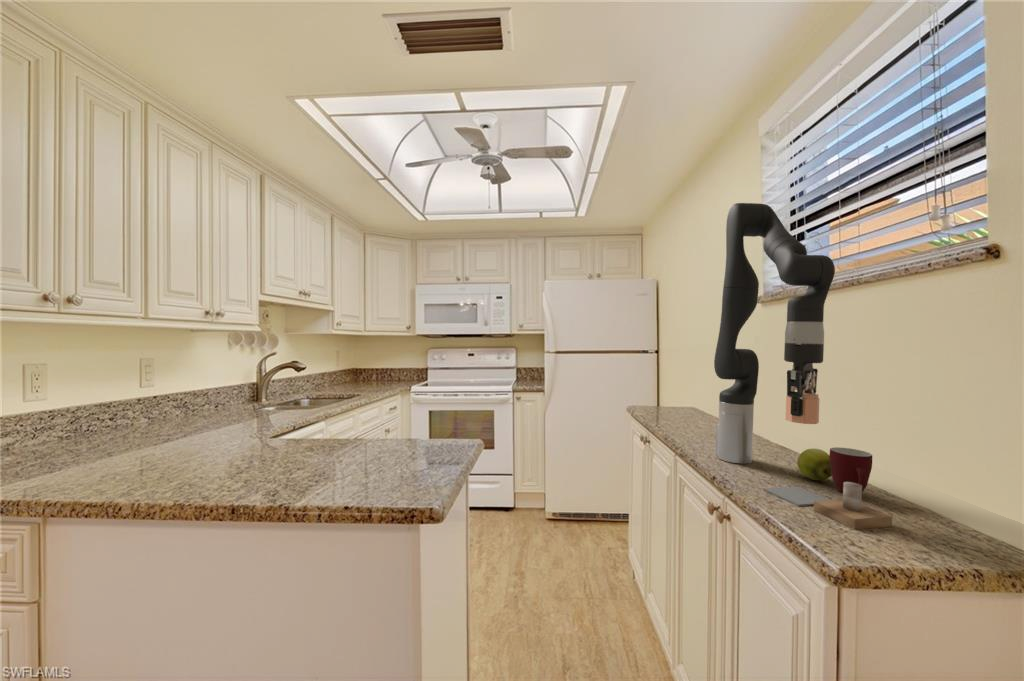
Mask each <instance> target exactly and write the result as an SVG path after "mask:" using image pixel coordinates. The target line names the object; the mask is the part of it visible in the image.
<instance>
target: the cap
mask: <svg viewBox="0 0 1024 681" xmlns="http://www.w3.org/2000/svg"><path fill="white" fill-rule="evenodd" d="M785 398H786V399H785V421H787V422H791V423H794V424H795V423H797V424H802V425H817V424H819V421H820V420H819V419H820V398H819V394H818V393H815V394H813V393H804V398H803V415H802V416H793V415H791V398H790V397H789V396H787V395H786V397H785Z"/></svg>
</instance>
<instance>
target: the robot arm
mask: <svg viewBox="0 0 1024 681" xmlns="http://www.w3.org/2000/svg"><path fill="white" fill-rule="evenodd" d="M725 226H726V228H725V229H726V230H725V232H726V233H725V234H726V239H725V240H726V241H725V242H726V243H725V244H726V245H725V246H726V248H725V249H726V254H725V255H726V257H725V271H724V280H723V286H722V298H721V299H722V300H721V301H722V302H721V315H720V324H719V325H720V326H719V332H718V336H717V337H718V338H717V343H716V348H715V353H714V361H713V363H714V365H713V366H714V372H715V375H716V376H717V378H719V379H721V380H730V381H731V380H734V382H733V384H732V385H731V386H729V387H728V388H726V389H724V390H721V391H720V392H719V396H718V397H719V398H718V399H719V401H718V403H719V404H718V424H716V427H715V428H716V430H715V433H716V434H715V456H716V457H717V458H718V459H719V460H721V461H725V462H727V463H728V462H729V463H733V464H741V465H742V464H743V465H744V464H751V463H752V462H753V440H754V439H753V438H754V437H753V436H754V407H755V406H754V405H755V404H754V403H755V397H756V395H757V391H758V381H759V368H760V367H759V366H760V365H759V362H760V361H759V358H758V355H757V353H756V352H755V351H754V350H752V349H749V348H736V347H737V341H738V337H739V334H740V333H741V330H742V328H743V327H744V325H745V324H746V323H747V321H748V320H749V318H750V317H751V316H752V314H753V313H754V311H755V309H756V307H757V305H758V299H759V290H760V289H759V287H760V282H759V279H758V276H757V273H756V272H755V270H754V268H753V267H752V265H751V263H750V261H749V260H748V257H747V255H746V252H745V245H744V240H745V238H744V237H752V238H753V237H754V238H756V237H761V238H764V239H763V240H764V241H763V244H762V245H763V251H764V253H765V254H766V256H767V258H769V259H770V260H771V261H772V262H773V263H774V264H775V266H776V269H777V272H778V276H779V279H780V281H782V282H783V284H784V283H785V284H786V285H788V286H793V287H794V286H797V287H807V290H806V292H805V293H804V294H803V295H798V296H793V297H791V298H790V299H789V300H788V301H787V305H786V306H787V309H786V310H787V311H786V325H785V332H784V354H783V356H784V357H783V360H784V361H785V362H787V363H793V364H792V369H788V370H787V371H786V396H789V397H790V398H791V415H793V416H802V415H803V398H804V393H813V394H817V385H818V384H817V381H818V372H819V371H818V370H819V369H818V368H814V365H813V364H822V363H823V362H824V350H825V349H824V348H825V329H824V312H825V303H826V300H827V297H828V294H829V291H830V288H831V285H832V283H833V280H834V277H835V273H836V266H835V263H834V261H833V260H832V259H831V257H829V256H827V255H824V254H808V251H807V248H806V247H805V245H804V244H803V243H802V242H801V241H799V240H798V239H797V238H796V237H795V236H794V235H792V234H791V233H790V232H789V231H788V230H787V229H786V227H785V226H784V224H783V223H782V221H781V220H780V218H779V216H778V215H777V214H776V212H775V210H774V209H773V208H772V207H771V206H770V205H768V204H766V203H754V202H753V203H752V202H750V203H749V202H737V203H734V204H732V205H731V207H730V208H729V210H728V213H727V217H726V225H725Z"/></svg>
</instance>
